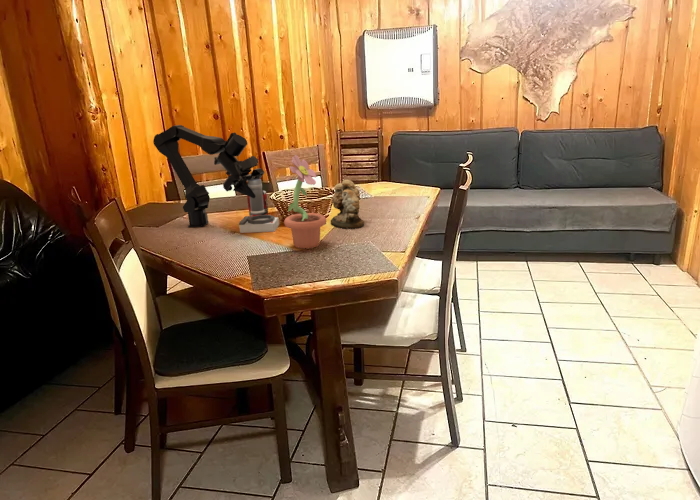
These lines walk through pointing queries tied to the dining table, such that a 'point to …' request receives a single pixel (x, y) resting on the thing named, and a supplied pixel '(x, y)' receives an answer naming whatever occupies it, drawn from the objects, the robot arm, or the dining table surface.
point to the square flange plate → (259, 223)
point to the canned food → (263, 203)
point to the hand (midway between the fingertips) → (259, 196)
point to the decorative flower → (304, 223)
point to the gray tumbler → (256, 202)
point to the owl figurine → (346, 206)
